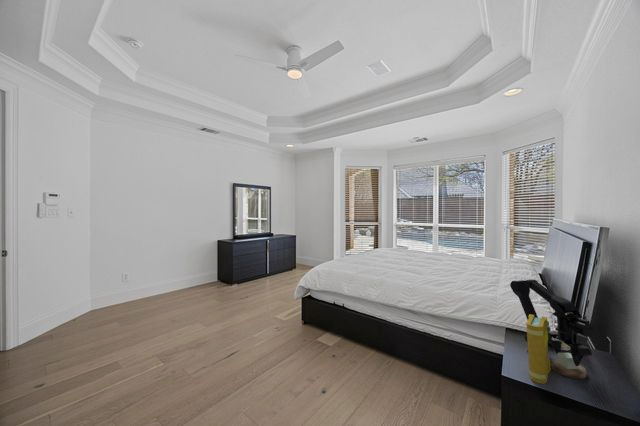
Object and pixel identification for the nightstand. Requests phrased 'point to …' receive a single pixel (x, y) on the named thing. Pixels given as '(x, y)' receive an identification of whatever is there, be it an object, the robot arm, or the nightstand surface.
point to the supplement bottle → (563, 346)
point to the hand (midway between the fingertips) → (567, 360)
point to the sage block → (566, 361)
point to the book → (538, 348)
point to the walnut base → (569, 370)
